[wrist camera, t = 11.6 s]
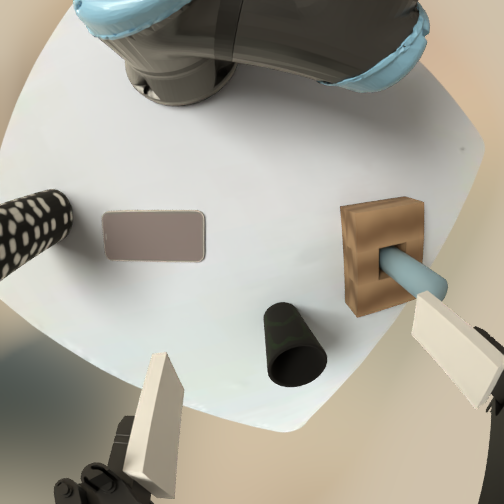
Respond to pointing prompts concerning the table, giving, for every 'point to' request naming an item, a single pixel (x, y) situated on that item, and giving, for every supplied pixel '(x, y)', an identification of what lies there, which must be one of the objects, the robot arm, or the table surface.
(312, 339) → the cup
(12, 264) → the white-spotted black cylinder
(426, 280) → the pin
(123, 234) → the smartphone
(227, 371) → the table surface
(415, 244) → the bore block
